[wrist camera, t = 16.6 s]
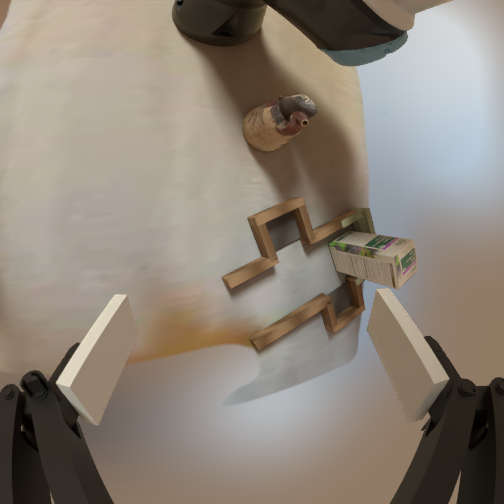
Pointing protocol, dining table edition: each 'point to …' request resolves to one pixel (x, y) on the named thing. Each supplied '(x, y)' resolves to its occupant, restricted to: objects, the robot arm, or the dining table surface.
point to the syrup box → (375, 257)
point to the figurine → (278, 121)
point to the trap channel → (299, 226)
